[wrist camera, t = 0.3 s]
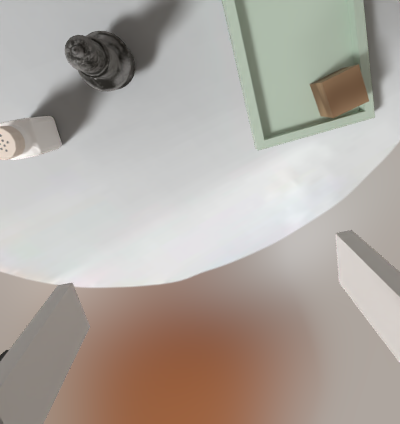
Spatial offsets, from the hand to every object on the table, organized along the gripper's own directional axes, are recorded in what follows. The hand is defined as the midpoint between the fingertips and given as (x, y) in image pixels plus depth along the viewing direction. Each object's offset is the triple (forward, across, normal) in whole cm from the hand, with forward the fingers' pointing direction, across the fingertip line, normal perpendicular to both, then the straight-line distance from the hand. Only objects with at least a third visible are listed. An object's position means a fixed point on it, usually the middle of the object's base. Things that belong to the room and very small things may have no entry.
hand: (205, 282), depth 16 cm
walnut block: (+26, +17, +6) cm, 32 cm away
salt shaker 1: (+27, -18, +8) cm, 34 cm away
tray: (+27, +13, +13) cm, 33 cm away
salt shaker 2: (+27, -8, +14) cm, 32 cm away
